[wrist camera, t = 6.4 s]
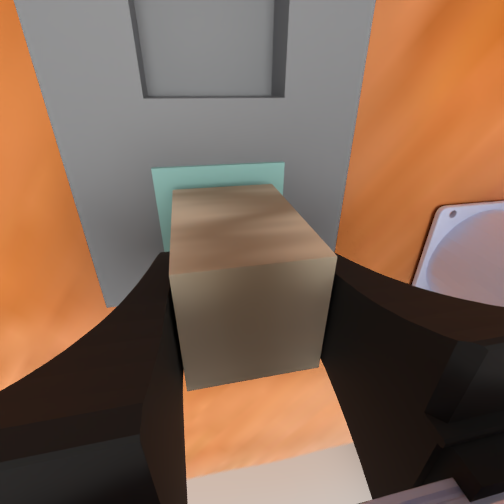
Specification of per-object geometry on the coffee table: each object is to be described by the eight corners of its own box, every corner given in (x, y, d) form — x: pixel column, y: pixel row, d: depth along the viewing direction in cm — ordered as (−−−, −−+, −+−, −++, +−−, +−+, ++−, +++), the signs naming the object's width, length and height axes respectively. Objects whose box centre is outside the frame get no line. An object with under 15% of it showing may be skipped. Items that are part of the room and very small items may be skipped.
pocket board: (358, -105, 11) (403, -151, 9) (313, 257, 19) (331, 281, 17) (-1, -152, 9) (-59, -228, 7) (115, 279, 17) (105, 310, 15)
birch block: (272, 183, 12) (337, 256, 7) (268, 265, 14) (318, 367, 9) (172, 189, 12) (169, 275, 7) (183, 275, 14) (187, 390, 9)
